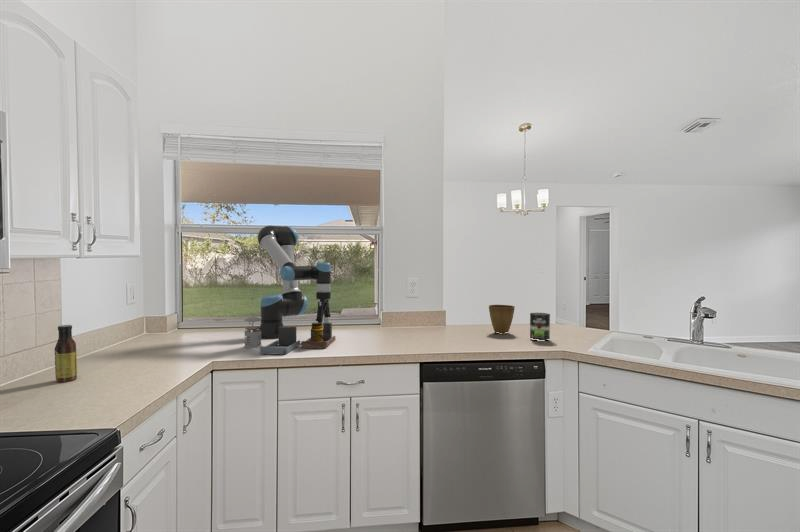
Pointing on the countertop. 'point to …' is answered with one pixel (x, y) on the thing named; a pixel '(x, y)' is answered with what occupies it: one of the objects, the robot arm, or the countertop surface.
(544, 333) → the coffee can
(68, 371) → the sauce bottle
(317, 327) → the condiment
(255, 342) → the french press
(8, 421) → the countertop surface
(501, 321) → the plant pot
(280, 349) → the grey frame
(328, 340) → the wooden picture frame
